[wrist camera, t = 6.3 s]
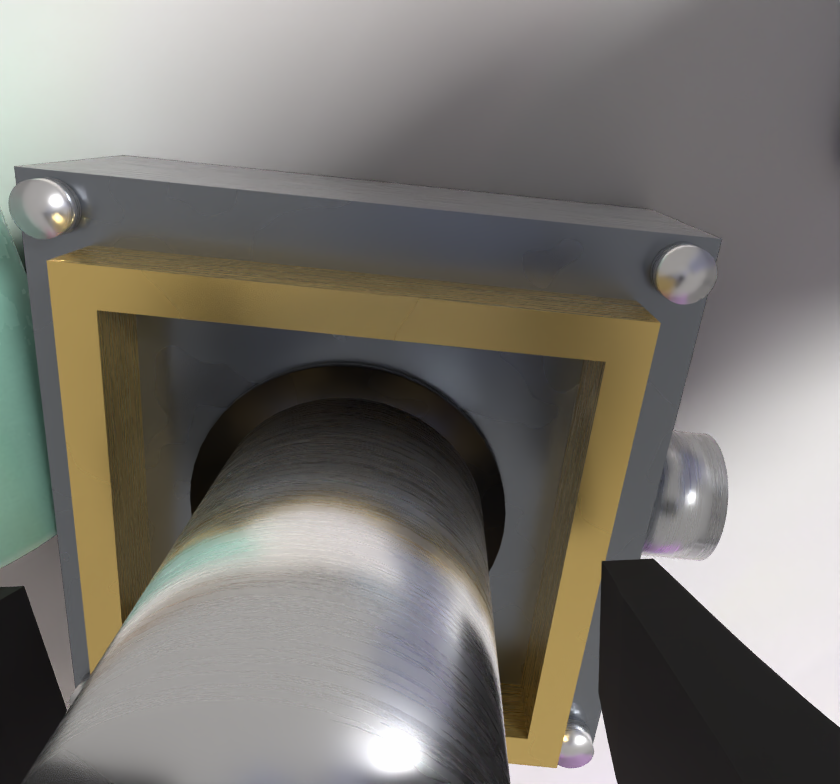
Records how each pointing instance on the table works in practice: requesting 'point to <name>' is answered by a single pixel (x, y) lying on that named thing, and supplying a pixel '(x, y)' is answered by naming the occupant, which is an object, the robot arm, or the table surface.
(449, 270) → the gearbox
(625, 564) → the robot arm
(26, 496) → the mint green cylinder
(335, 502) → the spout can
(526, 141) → the table surface
